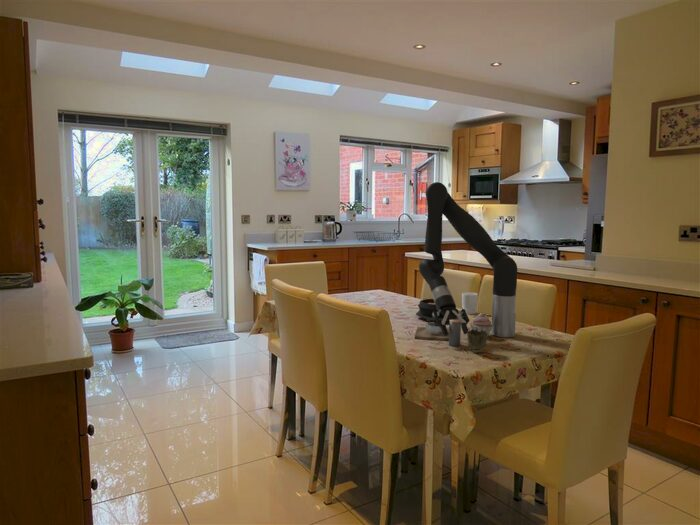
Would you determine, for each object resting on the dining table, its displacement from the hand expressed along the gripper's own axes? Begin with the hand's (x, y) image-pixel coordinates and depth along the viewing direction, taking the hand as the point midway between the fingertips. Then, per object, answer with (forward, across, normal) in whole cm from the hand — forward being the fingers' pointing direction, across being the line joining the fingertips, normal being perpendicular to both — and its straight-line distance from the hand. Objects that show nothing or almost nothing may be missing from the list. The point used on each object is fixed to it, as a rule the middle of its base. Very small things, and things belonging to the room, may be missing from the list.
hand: (456, 333), depth 187 cm
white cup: (-33, +35, +40) cm, 62 cm away
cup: (+10, +3, -3) cm, 11 cm away
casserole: (-28, +13, +36) cm, 47 cm away
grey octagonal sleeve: (-10, 0, +15) cm, 18 cm away
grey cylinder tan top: (+3, 0, +4) cm, 5 cm away
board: (-9, 0, +16) cm, 18 cm away
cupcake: (-4, +17, +11) cm, 21 cm away
